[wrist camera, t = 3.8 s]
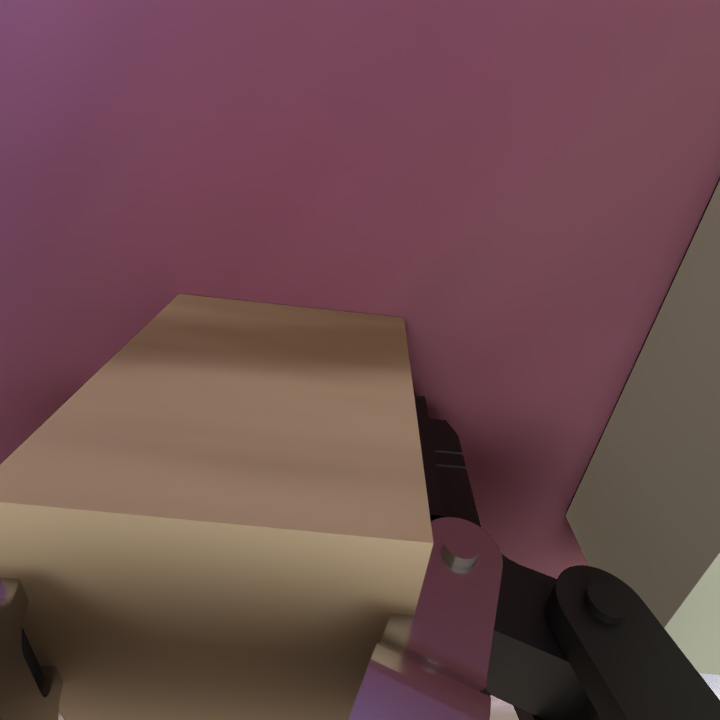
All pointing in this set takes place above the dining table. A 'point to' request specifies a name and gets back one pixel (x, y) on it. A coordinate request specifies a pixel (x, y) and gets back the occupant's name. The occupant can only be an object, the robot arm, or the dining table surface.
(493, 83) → the dining table surface
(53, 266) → the dining table surface
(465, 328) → the dining table surface
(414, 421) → the maple block
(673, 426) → the sage plinth
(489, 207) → the dining table surface
